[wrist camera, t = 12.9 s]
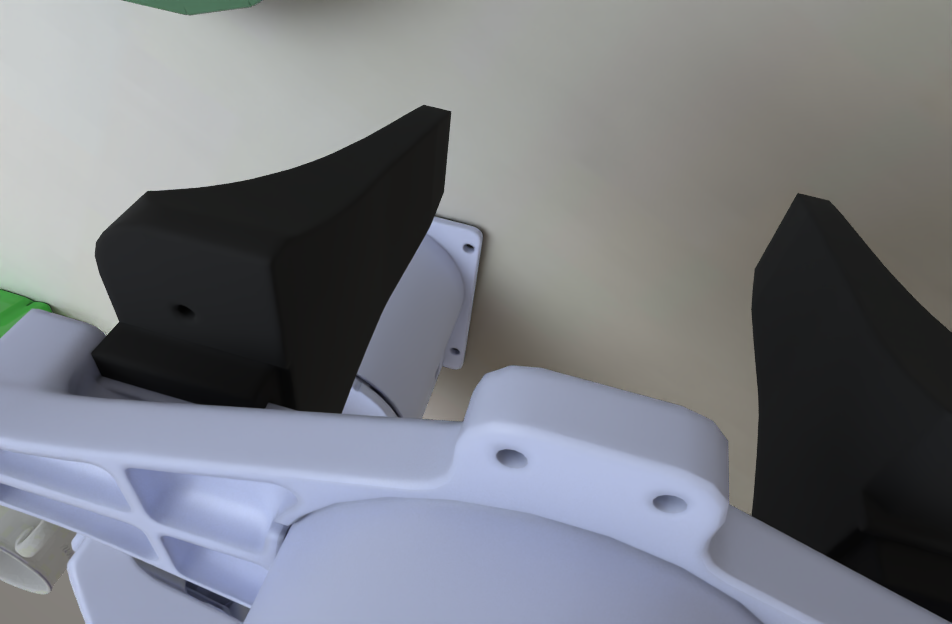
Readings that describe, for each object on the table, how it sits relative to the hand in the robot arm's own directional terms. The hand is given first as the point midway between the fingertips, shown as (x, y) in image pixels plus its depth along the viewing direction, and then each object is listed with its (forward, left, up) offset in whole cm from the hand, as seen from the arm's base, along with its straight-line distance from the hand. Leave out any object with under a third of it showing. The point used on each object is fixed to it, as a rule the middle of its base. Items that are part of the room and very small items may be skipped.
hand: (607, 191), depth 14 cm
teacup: (-54, +41, -11) cm, 69 cm away
